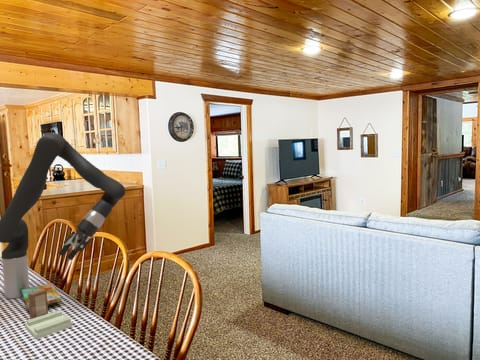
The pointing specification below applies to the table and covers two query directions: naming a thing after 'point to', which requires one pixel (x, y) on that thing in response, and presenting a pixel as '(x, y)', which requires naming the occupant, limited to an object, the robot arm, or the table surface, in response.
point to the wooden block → (38, 303)
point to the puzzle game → (51, 294)
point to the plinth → (48, 324)
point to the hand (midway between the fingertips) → (64, 256)
